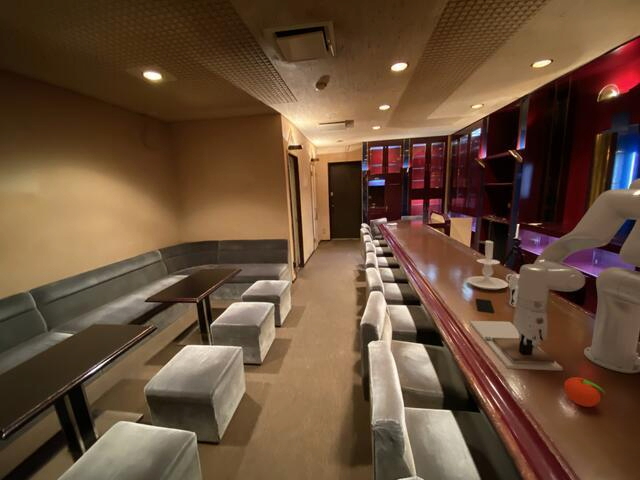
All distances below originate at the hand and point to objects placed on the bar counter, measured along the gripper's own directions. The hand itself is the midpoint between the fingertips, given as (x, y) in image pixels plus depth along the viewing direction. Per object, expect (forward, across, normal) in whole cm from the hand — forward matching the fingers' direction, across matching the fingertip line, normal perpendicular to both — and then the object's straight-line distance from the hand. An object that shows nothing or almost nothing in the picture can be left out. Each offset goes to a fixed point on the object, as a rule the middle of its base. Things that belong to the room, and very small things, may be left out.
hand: (525, 353), depth 88 cm
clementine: (+3, -18, -4) cm, 18 cm away
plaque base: (+3, +11, -1) cm, 11 cm away
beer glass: (+3, +45, -21) cm, 50 cm away
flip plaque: (0, +4, -1) cm, 4 cm away
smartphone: (+3, +44, -6) cm, 44 cm away
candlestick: (+3, +70, -21) cm, 73 cm away
